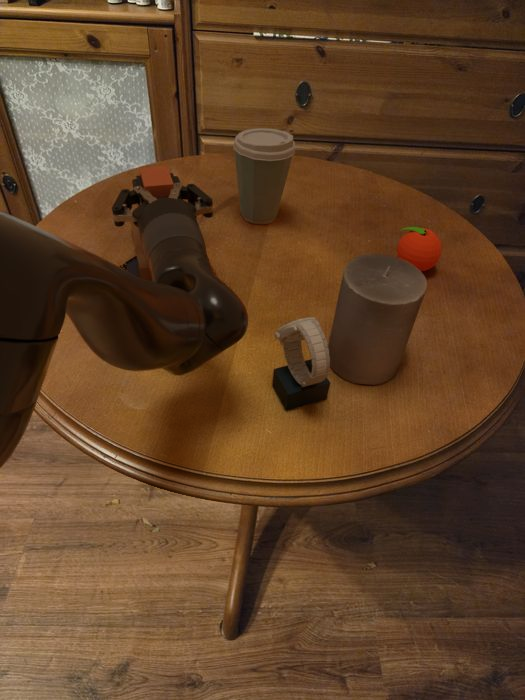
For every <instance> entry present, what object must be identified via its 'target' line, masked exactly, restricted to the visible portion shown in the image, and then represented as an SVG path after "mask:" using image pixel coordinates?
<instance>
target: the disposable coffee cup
mask: <svg viewBox="0 0 525 700" xmlns="http://www.w3.org/2000/svg"><path fill="white" fill-rule="evenodd" d="M234 137H235V138H234V140H233V145H232V148H233V151H234V161H235V169H236V180H237V188H238V189H237V191H238V197H239V198H238V199H239V207H240V214H241V216H242V219H244V220H245V221H247V222H248V223H251V224H254V225H265V224H266V225H267V224H270V223H272V222H274V221H275V220H276V218H277V217H278V214H279V209H280V205H281V201H282V198H283V194H284V190H285V186H286V182H287V178H288V175H289V171H290V167H291V163H292V159H293V157H294V155H296V142H295V140H294V135H292V134H291V133H289V132H287V131H285V130H281V129H276V128H266V127H265V128H264V127H257V128H247V129H245V130H243V131H240V132H238V133H237V135H235V136H234Z"/></svg>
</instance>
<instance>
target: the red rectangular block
mask: <svg viewBox="0 0 525 700" xmlns="http://www.w3.org/2000/svg"><path fill="white" fill-rule="evenodd" d="M139 173H140V175H141V178H142V183H143V187H144V190H148V191H149V192H150V193H151V195H152V196H153V197H164V196H170V192H171V188H174V184H173V181H172V178H171V175H170V173H171V172H170V169H169V167H168V165H159V166H157V165H156V166H146V167H139ZM140 175H139V176H140Z"/></svg>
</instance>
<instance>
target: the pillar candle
mask: <svg viewBox="0 0 525 700" xmlns="http://www.w3.org/2000/svg"><path fill="white" fill-rule="evenodd" d="M343 269H344V270H343V273H342V279H341V283H340V287H339V291H338V296H337V301H336V307H335V312H334V314H333V315H334V316H333V321H332V325H331V330H330V335H329V339H328V343H327V344H328V349H329V356H330V367H329V368H331V370H332V371H333V372H334V373H335V374H336V375H337V376H338V377H340V378H341V379H344V381H347V382H349V383H353V384H359V385H360V384H361V385H369V386H370V385H372V386H376V385H382V384H385V383H387V382H388V381H390V380H392V379H393V377H394V376H395V375H396V374H397V372H398V370H399V367H400V365H401V363H402V360H403V357H404V354H405V352H406V348H407V347H408V343H409V340H410V337H411V334H412V331H413V329H414V325H415V323H416V319H417V317H418V314H419V311H420V309H421V306H422V303H423V301H424V299H425V295H426V292H427V288H428V283H427V282H428V281H427V278H426V276H425V275H424V273H423V271H420V270H419V269H418V268H416V267H415V266H414V265H412V264H411V263H409V262H408V261H405V260H403V259H400V258H398V256H394V255H389V254H381V253H367V254H362V255H358V256H356V257H353V258H352V259H350V260H349V261H348V263H346V265H345V267H344V268H343Z"/></svg>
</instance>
